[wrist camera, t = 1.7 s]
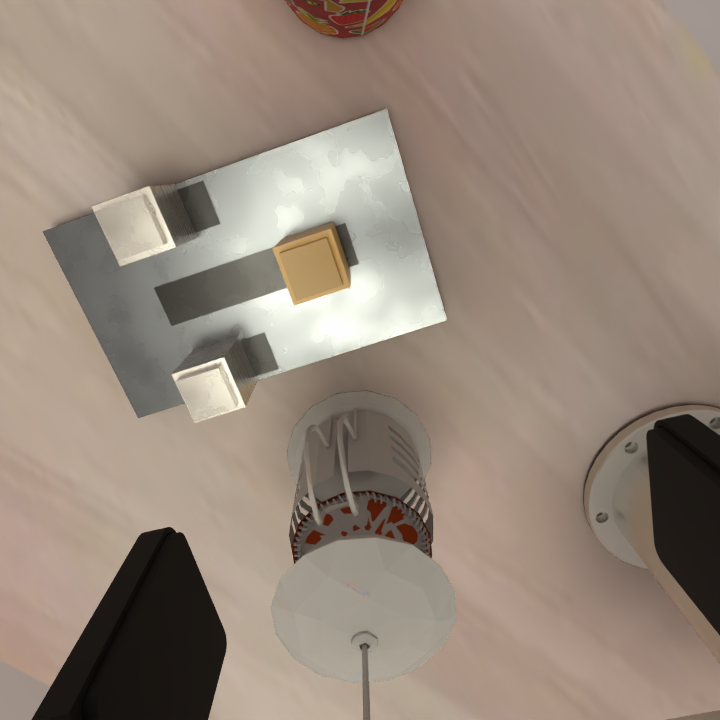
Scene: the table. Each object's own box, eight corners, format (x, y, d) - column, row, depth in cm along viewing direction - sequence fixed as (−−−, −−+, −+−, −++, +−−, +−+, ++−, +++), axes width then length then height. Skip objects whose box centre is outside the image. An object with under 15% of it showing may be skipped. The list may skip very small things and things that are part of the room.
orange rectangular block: (333, 221, 30) (330, 229, 25) (350, 272, 31) (350, 289, 26) (282, 238, 30) (270, 249, 26) (301, 289, 31) (292, 308, 27)
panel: (385, 111, 30) (393, 97, 24) (442, 313, 33) (462, 343, 28) (56, 228, 31) (-10, 241, 26) (146, 408, 35) (106, 454, 29)
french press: (312, 533, 39) (252, 1103, 15) (256, 389, 35) (59, 844, 11) (446, 498, 38) (605, 1041, 14) (403, 347, 34) (522, 742, 10)
